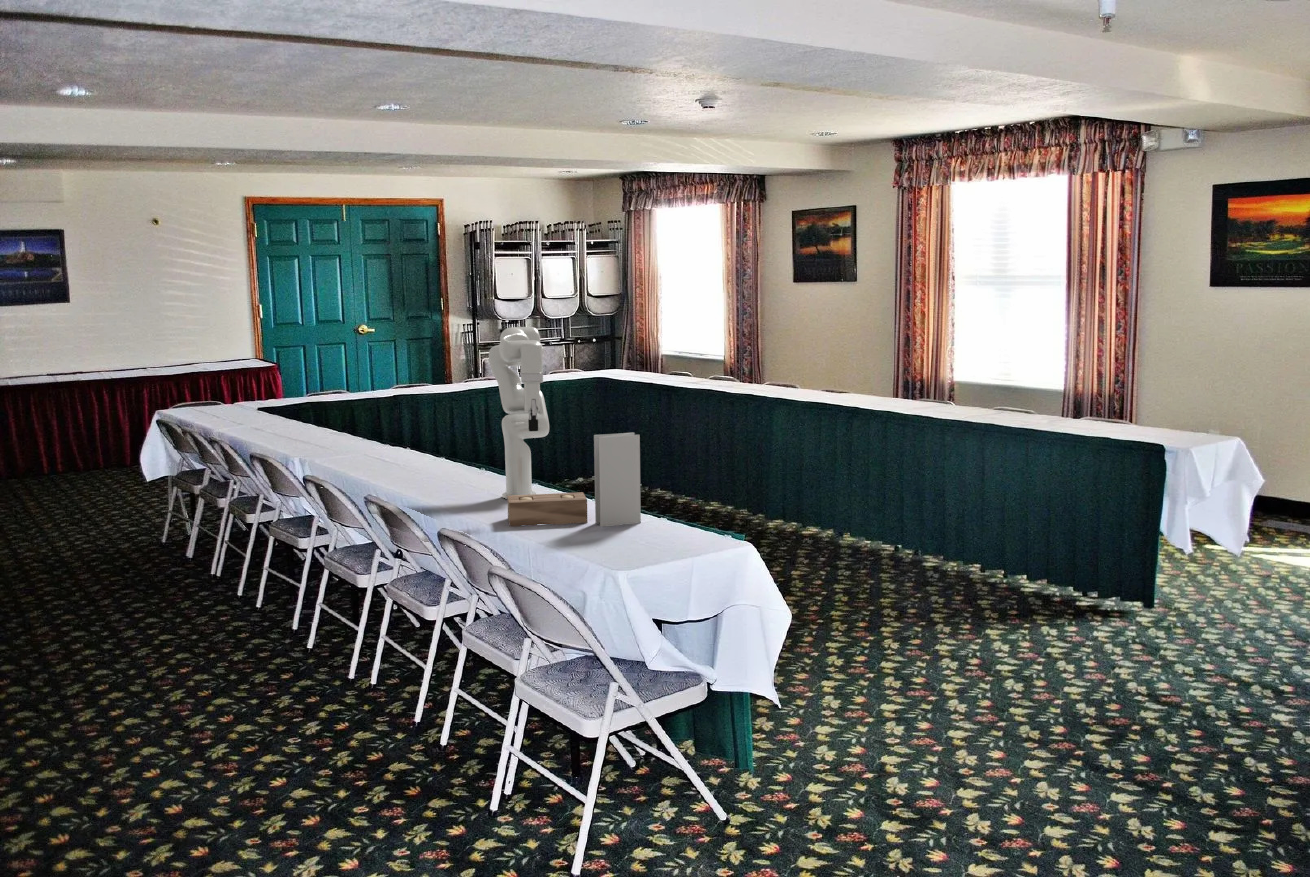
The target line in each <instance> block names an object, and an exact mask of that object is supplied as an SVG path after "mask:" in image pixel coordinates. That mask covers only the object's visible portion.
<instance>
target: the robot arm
mask: <svg viewBox="0 0 1310 877" xmlns="http://www.w3.org/2000/svg"><path fill="white" fill-rule="evenodd" d="M499 338H500V339H499V340H500V342H499V344H498V345H496V344H495V345H494V346H492V347H491V348H490V349H489V352H488V361H489V362H488V363H489V367H490V369H491V370H490V371H491V372H492V375H493V377H494V378H495V379H496V380H495V381H496V382H497V385H498V389H499V396H500V402H501V405H502V406H501V407H502V409H503V411H504V412H505V413H506V415H505V416H504V417H502V420H501V429H502V430H501V431H502V434H503V442H504V461H505V488H506V489H505V492H503V493H502V496H501V497H502V498H503V499H504V498H505V499H504V500H507V496H512V495H534V494H537V492H535V491H532V490H533V487H532V486H533V484H532V453H531V452H532V451H531V448H530V446H529V445H528V444H527V443H526V442H525V440H526V439H533V438H534V439H536V438H537V439H538V438H544V437H546V436H548V434H549V432H550V422H549V416H548V411H547V407H546V406H547V405H546V402H545V401H546V400H545V397H544V394H543V392H542V391H541V383H544V374H543V373H544V361H543V360H544V359H543V356H544V347H543V344H542V343H541V335H540V332H539V330H538V329H537V328H536V327H533V326H515V327H514V326H513V327H512V326H511V327H507V328H505V329H503V331H502V332H501V334H500V336H499ZM509 367H520V377H519V375H517V373H516V372H515V371H514V370H512V369H511V368H509ZM522 384H523V387H522Z"/></svg>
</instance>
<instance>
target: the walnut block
mask: <svg viewBox="0 0 1310 877" xmlns="http://www.w3.org/2000/svg"><path fill="white" fill-rule="evenodd" d="M565 495H571V496H573V498H562V496H565ZM523 497H530V498H532V500H520V498H523ZM506 500H507V501H506V502H507V520H509V521H508V524H510V525H509V527H510V526H511V527H522V526H521V525H531V526H538V525H537V524H551V525H565V524H566V525H567V524H586V523H588V499H587V497H586V495H585V493H584V492H582V491H581V492H580V491H579V492H561V493H560V492H559V493H538V494H537V493H536V494H534V495H512V496H507V499H506Z"/></svg>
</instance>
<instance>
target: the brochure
mask: <svg viewBox="0 0 1310 877" xmlns="http://www.w3.org/2000/svg"><path fill="white" fill-rule="evenodd" d="M640 440H641V437H640V434H636V433H635V432H623V433H622V432H621V433H619V432H618V433H607V434H606V433H605V434H594V435H593V442H594V443H593V450H594V451H593V452H594V453H593V457H594V504H595V506H594V507H595V508H594V509H595V510H594V511H595V518H594V519H595V524H600V528H604V527H612V526H613V525H616V526H622V525H621V524H626V525H634V524H641V521H642V519H641V517H642V516H641V515H642V514H641V513H642V512H641V442H640ZM613 527H614V526H613Z"/></svg>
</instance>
